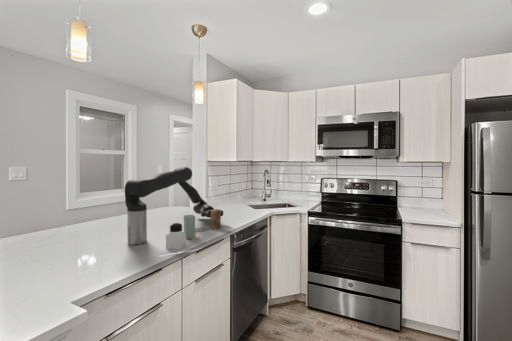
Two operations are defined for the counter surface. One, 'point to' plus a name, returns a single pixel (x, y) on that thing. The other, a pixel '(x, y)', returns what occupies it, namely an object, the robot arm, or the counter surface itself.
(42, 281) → the counter surface
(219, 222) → the walnut block
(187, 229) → the sage block
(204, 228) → the slate tile
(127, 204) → the robot arm
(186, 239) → the oak tile
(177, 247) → the medicine bottle
